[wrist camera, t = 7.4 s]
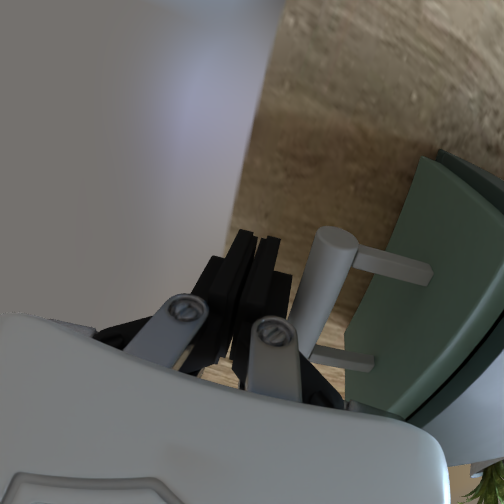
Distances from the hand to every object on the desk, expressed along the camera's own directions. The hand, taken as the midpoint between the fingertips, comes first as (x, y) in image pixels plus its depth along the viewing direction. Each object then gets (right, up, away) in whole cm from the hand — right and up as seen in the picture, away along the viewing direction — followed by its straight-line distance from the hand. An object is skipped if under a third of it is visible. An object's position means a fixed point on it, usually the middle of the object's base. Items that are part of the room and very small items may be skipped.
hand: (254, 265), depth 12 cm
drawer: (+11, -1, +2) cm, 11 cm away
